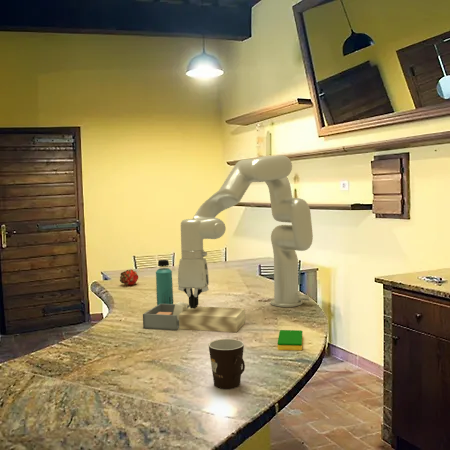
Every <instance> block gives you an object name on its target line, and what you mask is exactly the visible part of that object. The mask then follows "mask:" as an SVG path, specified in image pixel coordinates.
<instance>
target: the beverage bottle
mask: <svg viewBox="0 0 450 450" xmlns="http://www.w3.org/2000/svg"><path fill="white" fill-rule="evenodd" d="M157 263H158V264H157V267H161V268H158V269H157V270H156V271H155V283H156V286H155V287H156V288H155V290H156V293H155V295H156V306H157V305H159V304H174V302H175V301H174V300H175V299H174V291H173V290H174V289H173V288H174V287H173V285H174V284H173V271H172V270H171V269H170V268H168V266H170V264H169V260H168V259H160V260H158V262H157ZM162 267H163V268H162Z"/></svg>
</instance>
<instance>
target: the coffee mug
mask: <svg viewBox="0 0 450 450" xmlns="http://www.w3.org/2000/svg"><path fill="white" fill-rule="evenodd" d="M244 346H245V343H244V342H243V340H239V339H234V338H221V339H216V340H213V341H210V342H209V343H208V350H209V357H210V358H209V359H210V365H211V372H212V378H213V385H214V387H215V388H217V389H221V390H233V389H237V388H238V387H240V385H241V379H242V374H243V373H244V372H245V370H246V365H245V360H244V359H243V358H244V357H243V356H244Z"/></svg>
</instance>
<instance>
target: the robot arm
mask: <svg viewBox="0 0 450 450" xmlns="http://www.w3.org/2000/svg"><path fill="white" fill-rule="evenodd" d="M292 171H293V163H292V161H291V159H290V158H289V157H288V156H286V155H283V154H280V155H278V154H277V155H266V156H265V155H264V156H259V157H256V158H249V159H248V158H246V159H240V160H238V161H237V162H236V163H235V164H234V166H233V168H232V170H231V171H230V172H229V174H228V175H227V177H226V179H225V180H224V182H223V183H222V185H221V187H220V188H219V189H218V190H217V191H216V192H215V193H213V194H212V195H211V196H210V197H209V198H207V199H206V200H205V201H204V202H203V203H202V204H201V205H200V206H199V208H198V209H197V211H196V212H195V214H194V215H193V218H190V219H189V218H188V219H183V220H181V222H180V244H181V245H180V249H181V254H180V255H181V258H180V259H179V263H178V268H177V270H178V271H177V285H178V288H177V290H178V291H181V292H184V293H185V294H186V296H187V297H188V305H190V308H194V309H195V308H196V307H197V306H199V296H200V295H201V294H202V293H204V292H208V291H209V285H210V277H209V270H208V267H209V266H208V263H207V259H206V258H205V257H207V256H208V251H205V249H204V240H217V239H220V238H222V237H223V236H224V234H225V232H226V225H225V222H224V221H223V220H222V219H220V218H218V217H217V216H218V215H219V214H220V213H222V212H223V211H225V210H228V209H230V208H233V207H235V206H236V205H238V204H239V203H240V202H241V200H242V199H243V197H244V195H245V193H246V192H247V190H248V189H249V187H250V185H251V184H252V183H263V182H264V183H265V184H266V185H267V188H268V193H269V198H270V199H269V200H270V208H271V215H272V218H273V219H274V220H275V221H276V222H280V223H289V224H280V225H277V226H275V227H274V228H273V229H272V231H271V234H270V241H271V245H272V247H271V248H272V250H273V251H272V252H273V279H274V281H273V284H274V285H273V287H274V288H273V291H274V296H273V297H274V298H272V299H271V300H270V305H272V306H275V307H281V308H292V307H293V308H294V307H299V306H302V304H303V301H310V295H307V294H301V291H299V260H298V259H299V258H298V255H297V252H296V251H298V252H299V251H300V252H304V251H305V252H306V251H307V250H309V249H310V247H312V244H313V241H314V240H313V238H314V237H313V236H314V235H313V225H312V224H313V223H312V215H311V208H310V205H309V204H308V203H307V201H306V200H305V199H302V198H301V197H300V198H298V197H293V195H292V189H291V188H292V187H291V184H290V183H291V182H290V180H289V179H288V177H289V175H290V174H291V173H292ZM290 223H291V224H290ZM193 289H194V290H193Z"/></svg>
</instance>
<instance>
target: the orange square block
mask: <svg viewBox="0 0 450 450" xmlns="http://www.w3.org/2000/svg"><path fill="white" fill-rule="evenodd" d="M157 314H161V315H172V312H158V313H157Z"/></svg>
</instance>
